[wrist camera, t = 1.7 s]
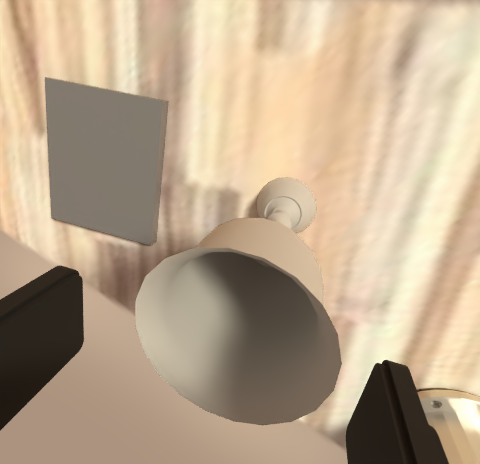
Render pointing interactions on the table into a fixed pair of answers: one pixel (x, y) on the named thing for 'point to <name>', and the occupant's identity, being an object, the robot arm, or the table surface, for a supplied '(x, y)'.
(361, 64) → the table surface
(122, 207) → the slate board
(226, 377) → the chalice
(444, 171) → the table surface
